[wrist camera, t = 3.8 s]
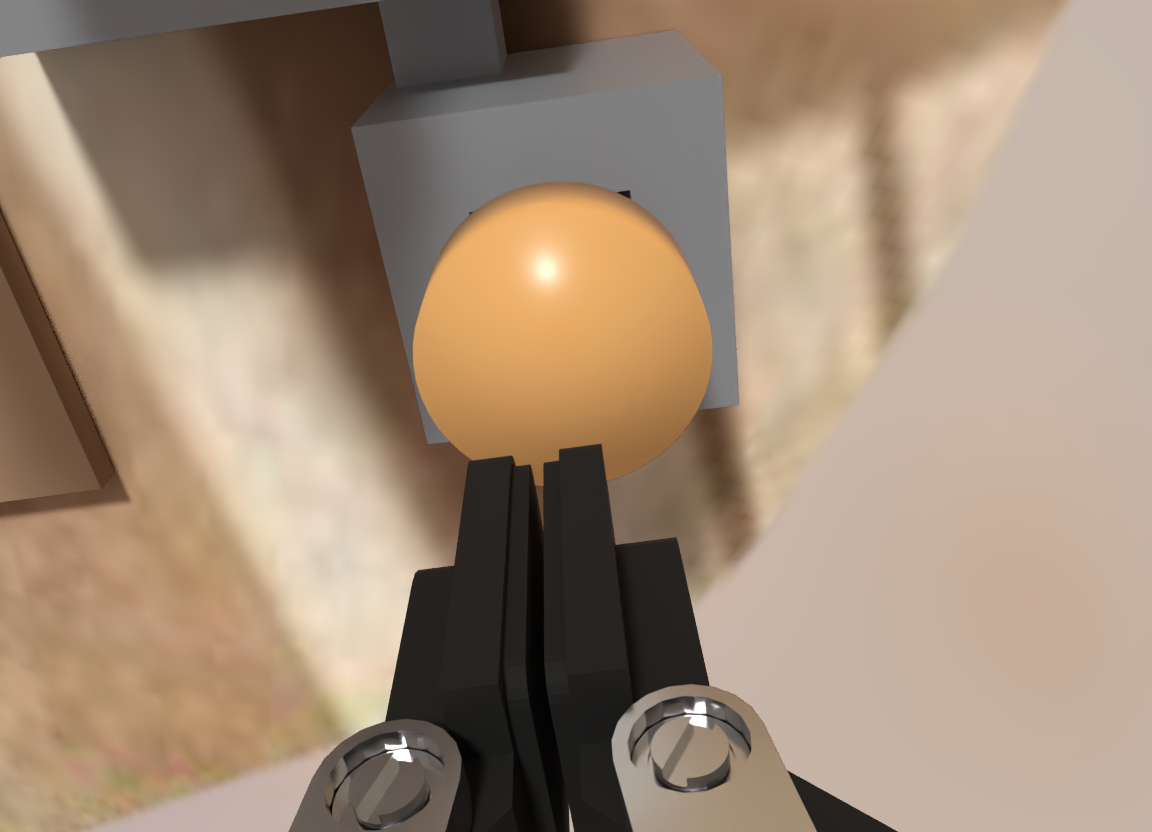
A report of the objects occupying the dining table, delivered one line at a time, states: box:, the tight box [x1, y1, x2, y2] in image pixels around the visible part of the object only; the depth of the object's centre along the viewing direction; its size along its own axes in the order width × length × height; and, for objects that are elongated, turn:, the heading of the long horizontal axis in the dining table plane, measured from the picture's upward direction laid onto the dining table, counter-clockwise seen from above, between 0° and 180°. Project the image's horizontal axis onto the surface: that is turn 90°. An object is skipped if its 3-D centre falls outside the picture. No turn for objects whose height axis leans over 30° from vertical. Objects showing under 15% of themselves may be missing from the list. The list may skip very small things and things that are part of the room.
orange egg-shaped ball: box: [413, 182, 712, 486], centre depth 18 cm, size 5×5×6 cm
